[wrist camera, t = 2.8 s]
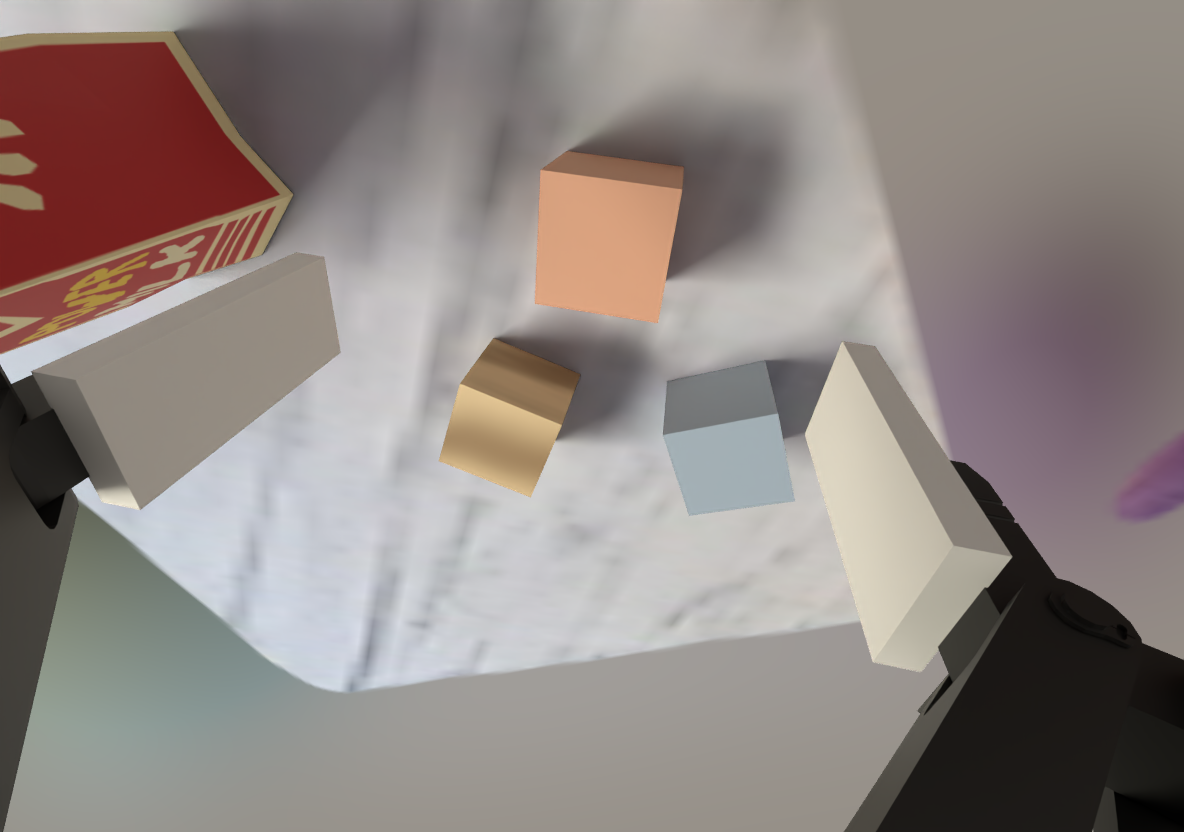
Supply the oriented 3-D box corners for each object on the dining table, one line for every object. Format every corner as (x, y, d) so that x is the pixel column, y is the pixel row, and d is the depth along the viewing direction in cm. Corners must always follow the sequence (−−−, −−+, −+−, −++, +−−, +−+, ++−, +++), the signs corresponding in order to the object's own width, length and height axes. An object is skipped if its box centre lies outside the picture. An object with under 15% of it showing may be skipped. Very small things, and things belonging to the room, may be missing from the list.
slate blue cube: (667, 380, 28) (662, 435, 24) (765, 359, 27) (778, 413, 23) (689, 454, 31) (689, 515, 26) (780, 439, 29) (795, 501, 25)
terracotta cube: (567, 150, 23) (540, 169, 19) (683, 166, 23) (682, 189, 18) (559, 265, 26) (534, 303, 22) (663, 280, 25) (657, 323, 21)
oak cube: (494, 337, 28) (460, 383, 24) (580, 373, 29) (561, 425, 25) (472, 408, 31) (439, 460, 27) (551, 440, 32) (530, 497, 27)
